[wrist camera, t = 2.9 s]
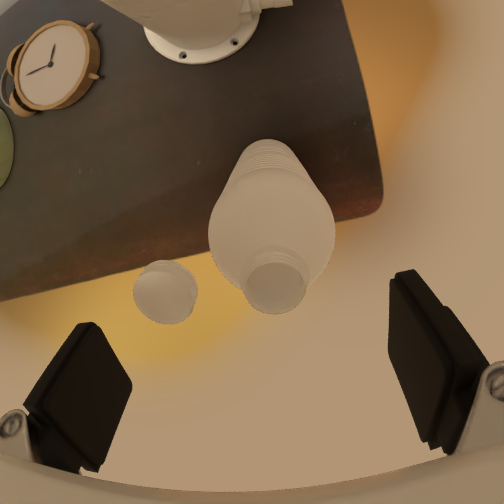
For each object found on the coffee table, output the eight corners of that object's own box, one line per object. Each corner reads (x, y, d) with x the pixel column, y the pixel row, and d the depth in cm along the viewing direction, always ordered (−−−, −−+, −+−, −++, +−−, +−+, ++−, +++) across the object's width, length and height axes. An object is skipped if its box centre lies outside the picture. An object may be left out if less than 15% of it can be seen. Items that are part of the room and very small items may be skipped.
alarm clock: (96, 92, 28) (-7, 132, 27) (109, 95, 32) (13, 129, 31) (89, 5, 23) (-13, 52, 22) (102, 16, 28) (6, 56, 27)
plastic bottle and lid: (294, 136, 32) (365, 195, 10) (300, 193, 35) (358, 348, 12) (214, 145, 33) (110, 223, 11) (222, 201, 36) (156, 361, 13)
